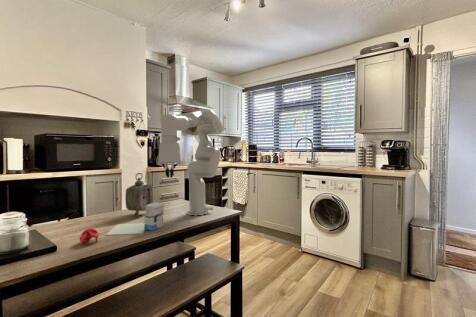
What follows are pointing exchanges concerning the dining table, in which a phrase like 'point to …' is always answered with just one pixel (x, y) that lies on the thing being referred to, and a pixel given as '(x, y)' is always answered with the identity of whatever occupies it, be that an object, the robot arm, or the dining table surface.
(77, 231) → the dining table surface
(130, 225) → the mat
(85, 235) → the red hair claw clip
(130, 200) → the tabletop clock
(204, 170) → the robot arm
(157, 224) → the ink box
